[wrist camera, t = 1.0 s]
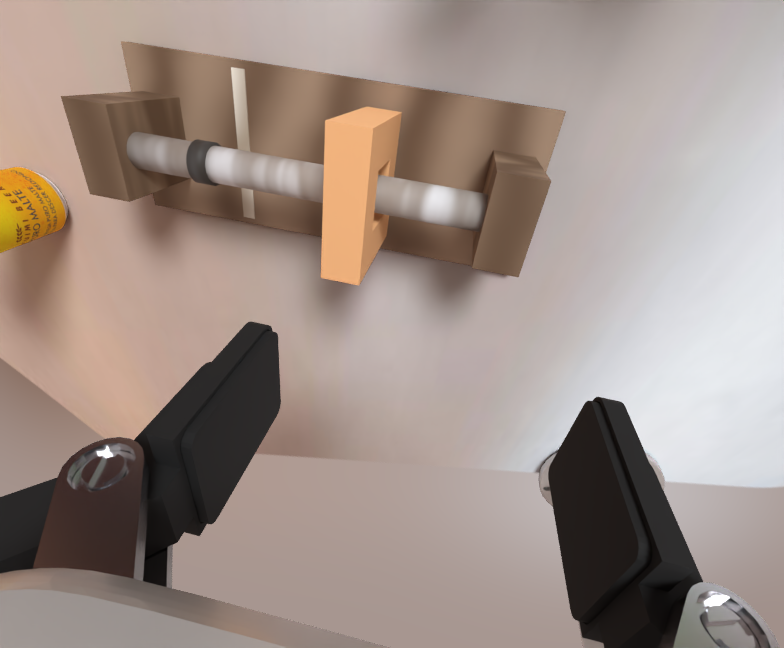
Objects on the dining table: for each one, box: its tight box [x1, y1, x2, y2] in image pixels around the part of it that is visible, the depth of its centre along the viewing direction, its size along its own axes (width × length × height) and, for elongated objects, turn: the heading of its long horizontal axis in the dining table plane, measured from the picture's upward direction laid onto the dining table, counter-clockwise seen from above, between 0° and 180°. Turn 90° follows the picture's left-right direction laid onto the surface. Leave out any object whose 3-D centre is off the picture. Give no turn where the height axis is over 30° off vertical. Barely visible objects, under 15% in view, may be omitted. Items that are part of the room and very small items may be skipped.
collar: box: [321, 107, 402, 285], centre depth 26 cm, size 2×9×9 cm, turn 172°
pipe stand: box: [61, 42, 566, 277], centre depth 28 cm, size 32×12×8 cm, turn 83°
